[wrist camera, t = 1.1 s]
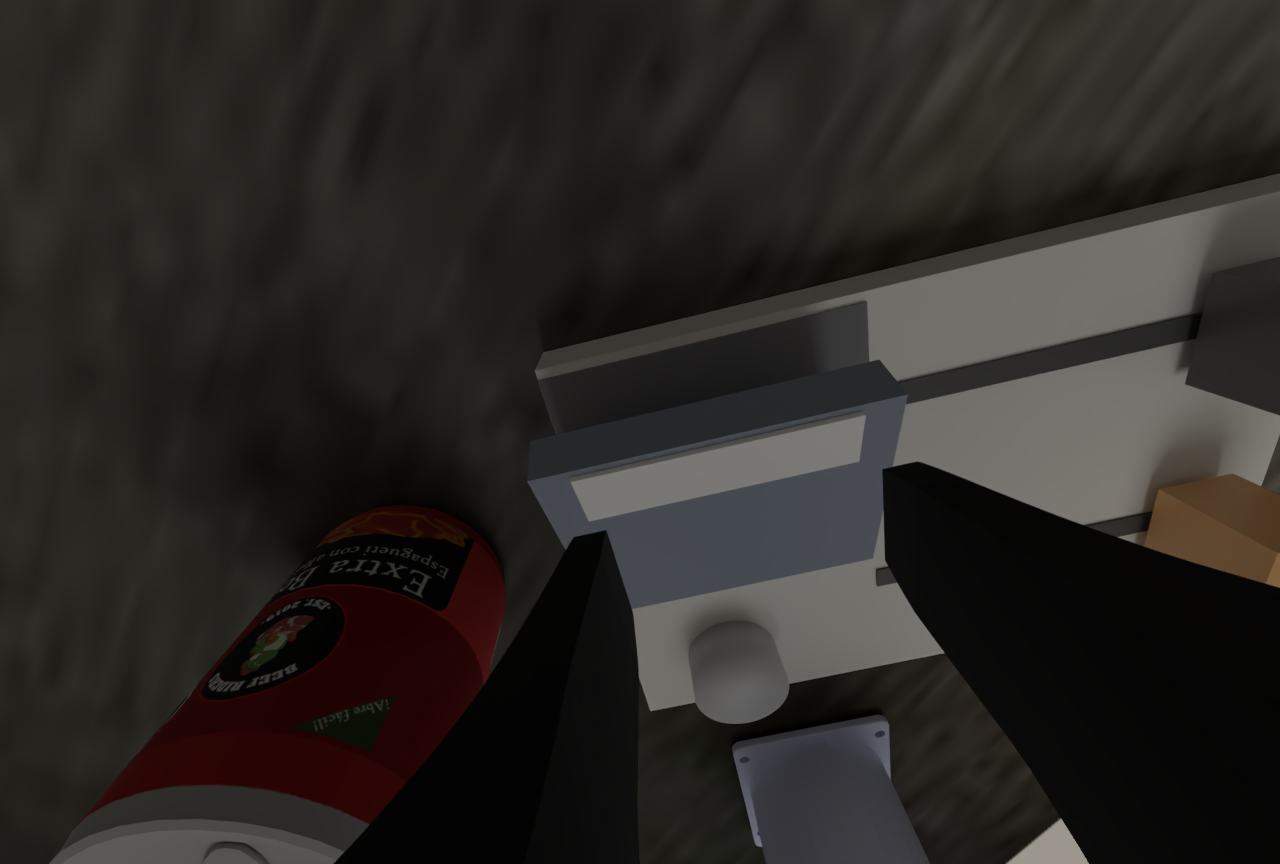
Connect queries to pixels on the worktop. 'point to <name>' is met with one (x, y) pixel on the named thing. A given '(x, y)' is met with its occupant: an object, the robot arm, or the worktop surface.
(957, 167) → the worktop surface
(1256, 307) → the black fader knob
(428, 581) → the canned food
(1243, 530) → the orange fader knob
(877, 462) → the rocker
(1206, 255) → the panel
